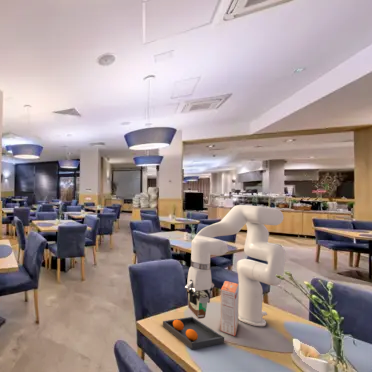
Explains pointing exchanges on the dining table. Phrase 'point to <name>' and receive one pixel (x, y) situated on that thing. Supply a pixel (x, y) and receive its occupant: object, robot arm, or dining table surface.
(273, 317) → the dining table surface
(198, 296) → the food container
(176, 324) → the clementine
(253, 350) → the dining table surface
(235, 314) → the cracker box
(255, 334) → the dining table surface
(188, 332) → the clementine
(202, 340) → the fruit tray
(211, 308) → the dining table surface
